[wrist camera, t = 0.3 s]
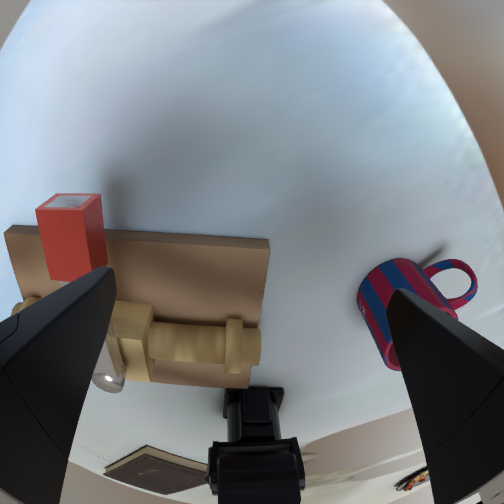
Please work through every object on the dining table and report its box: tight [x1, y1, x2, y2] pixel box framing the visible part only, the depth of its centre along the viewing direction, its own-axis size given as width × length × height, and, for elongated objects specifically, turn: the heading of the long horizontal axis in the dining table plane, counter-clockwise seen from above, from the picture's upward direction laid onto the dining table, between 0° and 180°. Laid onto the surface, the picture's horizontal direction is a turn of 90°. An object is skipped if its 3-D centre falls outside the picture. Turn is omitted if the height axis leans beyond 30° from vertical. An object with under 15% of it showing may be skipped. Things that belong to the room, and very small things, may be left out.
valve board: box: [4, 225, 270, 389], centre depth 23 cm, size 16×22×6 cm
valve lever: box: [35, 194, 127, 393], centre depth 16 cm, size 14×3×2 cm, turn 174°
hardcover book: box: [103, 445, 208, 495], centre depth 45 cm, size 16×23×2 cm
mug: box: [357, 259, 478, 371], centre depth 22 cm, size 7×10×7 cm
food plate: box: [396, 469, 430, 491], centre depth 65 cm, size 25×23×4 cm
